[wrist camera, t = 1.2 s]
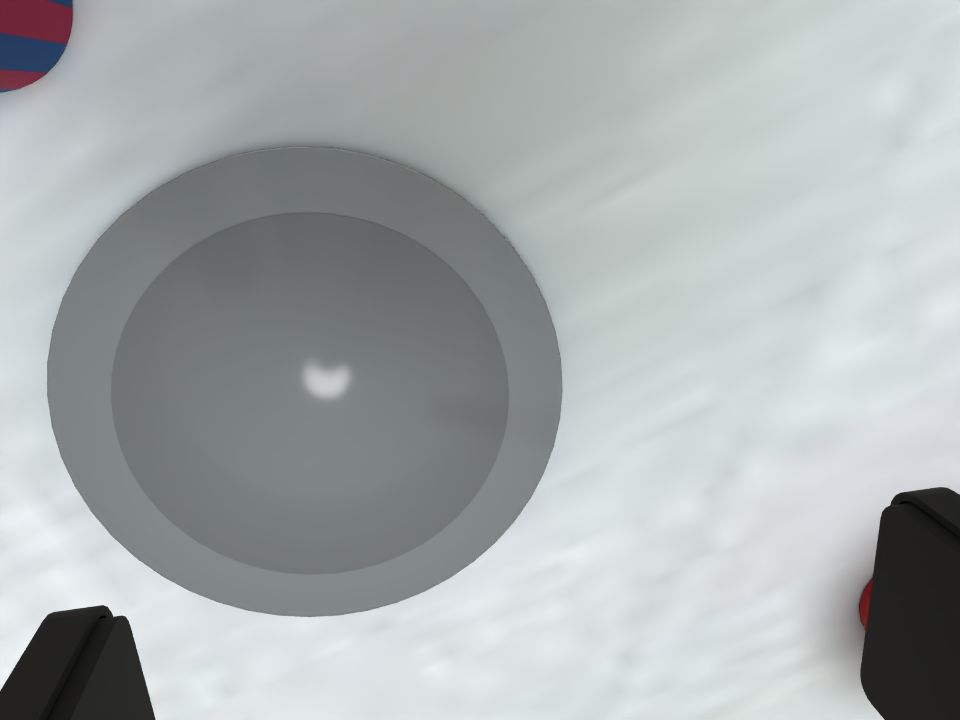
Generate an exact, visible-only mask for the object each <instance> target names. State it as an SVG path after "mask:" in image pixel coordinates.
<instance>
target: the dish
mask: <svg viewBox="0 0 960 720" xmlns="http://www.w3.org/2000/svg"><path fill="white" fill-rule="evenodd" d="M47 396H48V403H49V409H50V416H51V423H52V428H53V431H54V435H55V438H56V441H57V445H58V448H59V451H60V454H61V458H62V460H63V462H64V464H65V466H66V468H67V470H68V473H69V475H70V477H71V479H72V481H73V483H74V485H75V487H76V489H77V490H78V492H79V493H80V495H81V496H82V498H83V499H84V501H85V502H86V504H87V506H88V507H89V509H90V510H91V512H92V513H93V514H94V515H95V517H96V518H97V519H98V520H99V521H100V522H101V524H102V525H103V526H104V527H105V528H106V529H107V531H108V532H109V533H110V534H111V535H112V536H113V537H114V538H115V539H116V540H117V541H118V542H119V543H120V544H121V545H122V546H124V547H125V548H126V549H127V550H128V551H129V552H130V553H131V554H132V555H133V556H135V557H136V558H137V559H138V560H140V561H141V562H143V563H144V564H146V565H147V566H148V567H150V568H151V569H153V570H154V571H155V572H157V573H158V574H160V575H161V576H163V577H165V578H167V579H168V580H170V581H172V582H174V583H176V584H178V585H180V586H181V587H183V588H185V589H187V590H189V591H191V592H194V593H196V594H199V595H201V596H204V597H206V598H209V599H211V600H214V601H216V602H219V603H223V604H226V605H230V606H233V607H237V608H241V609H244V610H248V611H254V612H260V613H267V614H273V615H281V616H300V617H317V616H335V615H344V614H350V613H356V612H362V611H368V610H372V609H375V608H379V607H383V606H386V605H390V604H393V603H397V602H400V601H402V600H405V599H407V598H410V597H412V596H415V595H417V594H420V593H422V592H425V591H426V590H428V589H430V588H432V587H434V586H436V585H438V584H440V583H441V582H443V581H445V580H447V579H449V578H451V577H452V576H453V575H455V574H456V573H458V572H459V571H461V570H462V569H464V568H465V567H467V566H468V565H469V564H471V563H472V562H474V561H475V560H476V559H477V558H478V557H480V556H481V555H482V554H483V553H484V552H485V551H486V550H488V549H489V548H490V547H491V546H492V545H493V544H494V543H495V542H496V541H497V540H498V539H499V538H500V537H501V536H502V535H503V534H504V532H505V531H506V530H507V529H508V528H509V527H510V526H511V525H512V524H513V522H514V521H515V520H516V518H517V517H518V516H519V514H520V513H521V511H522V510H523V508H524V507H525V505H526V504H527V503H528V501H529V500H530V498H531V496H532V495H533V493H534V491H535V489H536V487H537V485H538V483H539V481H540V479H541V477H542V476H543V474H544V471H545V468H546V466H547V463H548V460H549V458H550V455H551V452H552V449H553V447H554V442H555V438H556V434H557V429H558V425H559V420H560V412H561V400H562V372H561V358H560V353H559V348H558V342H557V337H556V332H555V329H554V326H553V323H552V320H551V317H550V314H549V311H548V308H547V305H546V302H545V300H544V298H543V296H542V294H541V292H540V290H539V288H538V286H537V284H536V282H535V280H534V278H533V276H532V274H531V273H530V271H529V270H528V268H527V267H526V265H525V264H524V262H523V261H522V259H521V258H520V257H519V255H518V254H517V252H516V251H515V249H514V248H513V247H512V245H511V244H510V243H509V242H508V241H507V240H506V239H505V238H504V237H503V236H502V234H501V233H500V232H499V231H498V230H497V229H496V228H495V227H494V226H493V225H492V223H491V222H490V221H489V220H488V219H487V218H485V217H484V216H483V215H482V214H481V213H479V212H478V211H477V210H476V209H475V208H473V207H472V206H471V205H470V204H469V203H468V202H466V201H465V200H464V199H463V198H462V197H460V196H459V195H457V194H455V193H454V192H452V191H451V190H449V189H448V188H446V187H444V186H443V185H441V184H440V183H438V182H437V181H435V180H433V179H432V178H429V177H427V176H425V175H423V174H421V173H419V172H416V171H414V170H412V169H410V168H408V167H406V166H403V165H401V164H398V163H395V162H392V161H389V160H386V159H382V158H379V157H376V156H373V155H369V154H366V153H360V152H354V151H348V150H342V149H336V148H327V147H301V146H293V147H283V148H272V149H262V150H256V151H252V152H248V153H243V154H239V155H235V156H231V157H226V158H223V159H220V160H218V161H215V162H213V163H210V164H207V165H205V166H202V167H200V168H197V169H194V170H192V171H189V172H187V173H185V174H183V175H181V176H179V177H177V178H176V179H174V180H172V181H170V182H168V183H167V184H165V185H163V186H161V187H160V188H158V189H156V190H154V191H152V192H151V193H150V194H148V195H147V196H146V197H144V198H143V199H142V200H140V201H139V202H138V203H137V204H135V205H134V206H133V207H131V208H130V209H129V210H127V211H126V212H125V213H123V214H122V215H121V216H120V217H119V219H118V220H117V221H116V222H115V223H114V224H113V225H112V226H111V227H110V228H109V229H108V230H107V231H106V232H105V233H104V234H103V235H102V236H101V237H100V238H99V239H98V240H97V242H96V243H95V245H94V246H93V247H92V249H91V250H90V252H89V253H88V255H87V256H86V257H85V259H84V260H83V262H82V263H81V264H80V266H79V267H78V269H77V271H76V273H75V275H74V277H73V279H72V281H71V283H70V285H69V287H68V289H67V291H66V293H65V295H64V297H63V299H62V302H61V305H60V308H59V311H58V315H57V318H56V321H55V324H54V327H53V330H52V337H51V343H50V349H49V356H48V362H47Z"/></svg>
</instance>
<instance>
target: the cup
mask: <svg viewBox="0 0 960 720" xmlns="http://www.w3.org/2000/svg"><path fill="white" fill-rule="evenodd" d="M71 23H72V1H71V0H0V92H6V91H11V90H16V89H20V88H22V87H24V86H27V85H29V84H32V83H33V82H35V81H36V80H38V79H39V78H41V77H42V76H44V75H45V74H46V73H47V72H48V71H49V70H50V69H51V68H52V67H53V66H54V65H55V64H56V62H57V61H58V59H59V58H60V56H61V54H62V53H63V51H64V49H65V46H66V44H67V41H68V38H69V35H70V29H71Z"/></svg>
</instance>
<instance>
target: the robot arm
mask: <svg viewBox="0 0 960 720" xmlns="http://www.w3.org/2000/svg"><path fill="white" fill-rule="evenodd" d="M860 677H861V682H862V686H863V689H864V692H865V694H866V696H867V698H868V700H869V701H870V702H871V704H872V705H873V706H874V708H875V709H876V710H877V711H878V712H879V713H880V715H881V716H882V717H883V718H884V719H885V720H960V495H959V494H957V493H956V492H954V491H952V490H950V489H948V488H943V487H938V488H931V489H924V490H916V491H909V492H902V493H900V494H898V495H896V496H895V497H894V498H893V500H892V501H891V505H890V506H888V507H886V508H885V509H884V511H883V512H882V515H881V520H880V527H879V535H878V542H877V550H876V557H875V565H874V573H873V580H872V588H871V595H870V603H869V610H868V618H867V625H866V633H865V641H864V648H863V656H862V663H861V675H860ZM0 720H155V716H154V712H153V708H152V705H151V701H150V697H149V694H148V690H147V686H146V682H145V679H144V675H143V671H142V668H141V664H140V660H139V656H138V653H137V649H136V645H135V642H134V638H133V634H132V630H131V627H130V624H129V621H128V620H127V618H126V617H125V616H116V617H113V615H112V612H111V611H110V610H109V608H108V607H106V606H104V605H101V606H94V607H87V608H80V609H73V610H66V611H58V612H53V613H51V614H48V615H47V617H46V618H45V619H44V620H43V622H42V623H41V625H40V627H39V628H38V630H37V632H36V633H35V635H34V636H33V638H32V640H31V641H30V643H29V645H28V646H27V648H26V650H25V651H24V653H23V655H22V656H21V658H20V659H19V661H18V663H17V664H16V666H15V668H14V669H13V671H12V673H11V674H10V676H9V678H8V679H7V681H6V682H5V684H4V686H3V687H2V689H1V691H0Z"/></svg>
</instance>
